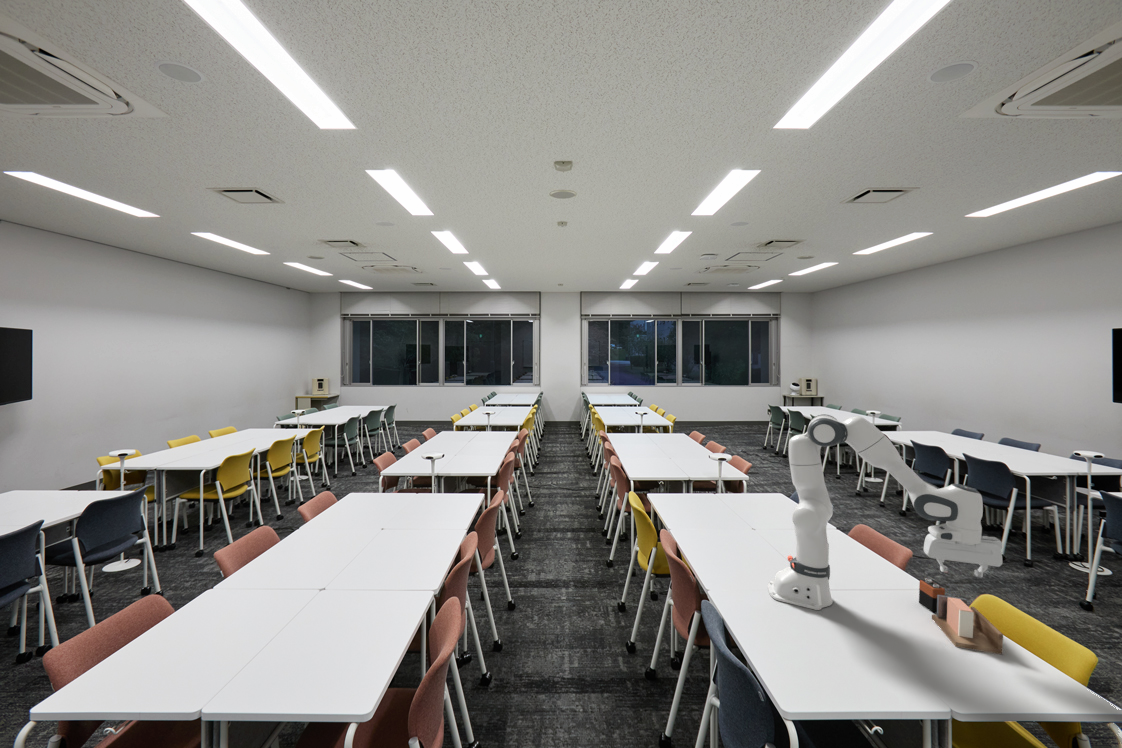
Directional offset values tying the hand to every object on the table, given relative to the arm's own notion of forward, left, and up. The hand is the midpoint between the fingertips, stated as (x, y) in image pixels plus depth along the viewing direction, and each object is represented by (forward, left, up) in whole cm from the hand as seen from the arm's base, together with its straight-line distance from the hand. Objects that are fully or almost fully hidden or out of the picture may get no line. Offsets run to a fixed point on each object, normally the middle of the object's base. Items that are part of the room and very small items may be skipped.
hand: (960, 573), depth 148 cm
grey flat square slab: (+1, +6, -19) cm, 21 cm away
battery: (-1, +16, -21) cm, 27 cm away
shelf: (+2, 0, -21) cm, 21 cm away
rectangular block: (0, 0, -19) cm, 19 cm away
